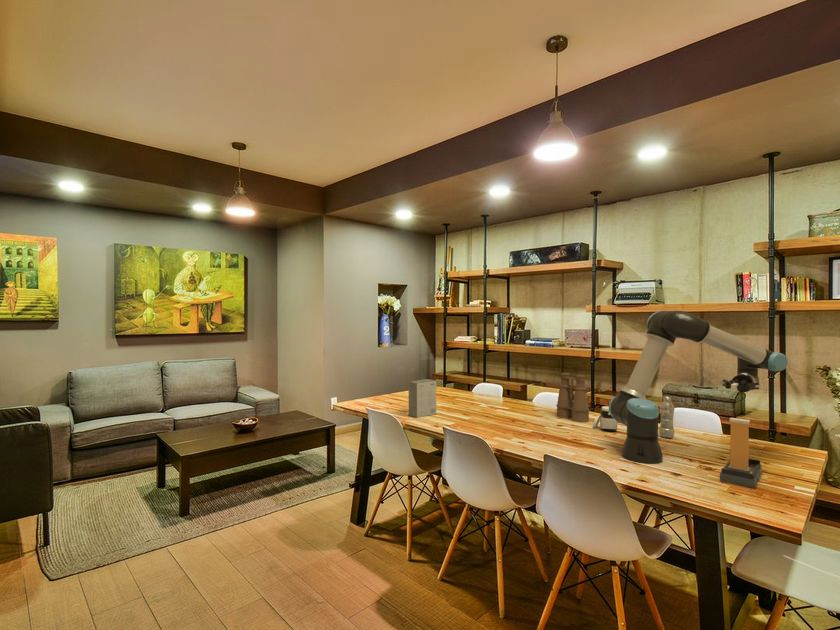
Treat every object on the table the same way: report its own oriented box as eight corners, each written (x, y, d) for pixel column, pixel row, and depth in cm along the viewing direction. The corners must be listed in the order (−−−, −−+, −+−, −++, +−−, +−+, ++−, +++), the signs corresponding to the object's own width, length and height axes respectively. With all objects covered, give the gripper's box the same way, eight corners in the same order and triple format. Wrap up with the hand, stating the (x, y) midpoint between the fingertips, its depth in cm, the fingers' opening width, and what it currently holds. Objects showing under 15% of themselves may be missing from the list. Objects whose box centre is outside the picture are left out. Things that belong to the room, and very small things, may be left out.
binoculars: (552, 416, 266) (552, 373, 266) (564, 414, 271) (564, 372, 271) (581, 423, 248) (582, 377, 248) (593, 421, 253) (594, 376, 254)
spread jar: (619, 433, 228) (619, 409, 228) (595, 431, 230) (595, 408, 230) (613, 427, 240) (613, 405, 240) (590, 426, 242) (590, 404, 242)
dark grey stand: (754, 488, 155) (754, 475, 155) (719, 481, 161) (719, 468, 161) (761, 472, 171) (761, 460, 171) (729, 466, 178) (730, 454, 178)
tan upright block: (748, 475, 158) (749, 422, 158) (727, 471, 162) (728, 419, 162) (750, 471, 162) (750, 419, 162) (730, 468, 166) (730, 417, 166)
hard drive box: (428, 412, 272) (428, 378, 272) (436, 414, 266) (437, 380, 266) (407, 415, 262) (408, 381, 262) (416, 418, 256) (416, 382, 256)
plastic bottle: (657, 437, 220) (657, 396, 220) (661, 435, 225) (662, 394, 225) (671, 440, 216) (672, 398, 216) (676, 437, 220) (676, 396, 220)
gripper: (762, 393, 191) (753, 400, 173) (725, 389, 200) (713, 395, 182) (762, 375, 191) (753, 380, 173) (725, 372, 200) (713, 377, 182)
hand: (733, 388), depth 178 cm, fingers closed
